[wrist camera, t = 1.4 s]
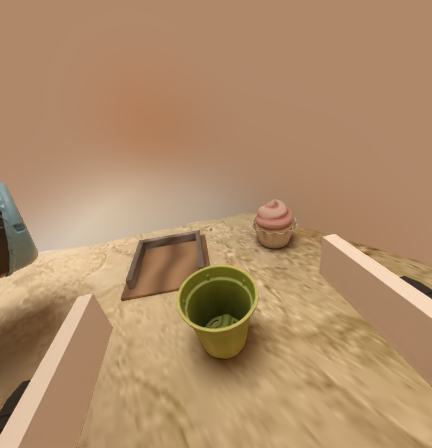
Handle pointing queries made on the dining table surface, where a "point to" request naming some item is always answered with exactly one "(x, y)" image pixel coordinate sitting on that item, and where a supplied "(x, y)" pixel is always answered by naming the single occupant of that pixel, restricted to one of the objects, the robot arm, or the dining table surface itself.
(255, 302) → the plant pot
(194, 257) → the keeper bracket
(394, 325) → the robot arm
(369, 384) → the dining table surface
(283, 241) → the cupcake
